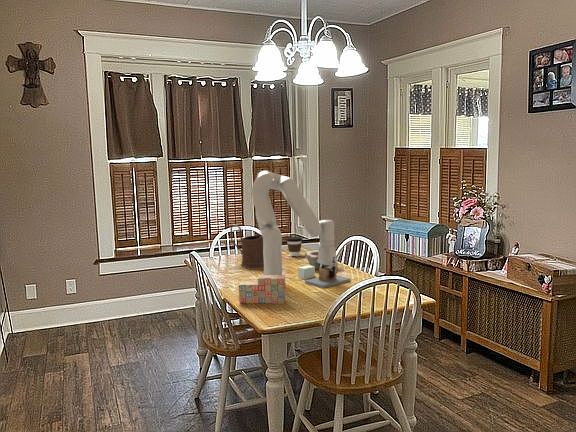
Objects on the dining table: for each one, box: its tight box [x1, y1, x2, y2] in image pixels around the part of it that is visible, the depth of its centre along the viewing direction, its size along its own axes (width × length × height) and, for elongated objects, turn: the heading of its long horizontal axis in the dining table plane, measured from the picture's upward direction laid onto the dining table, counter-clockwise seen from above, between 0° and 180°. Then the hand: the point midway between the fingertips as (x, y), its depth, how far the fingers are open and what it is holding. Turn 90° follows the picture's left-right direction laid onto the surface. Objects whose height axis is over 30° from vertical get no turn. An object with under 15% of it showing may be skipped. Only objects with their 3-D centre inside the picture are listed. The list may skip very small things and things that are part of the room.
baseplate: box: [304, 274, 352, 289], centre depth 279 cm, size 20×14×2 cm
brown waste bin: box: [230, 224, 264, 269], centre depth 323 cm, size 18×24×25 cm
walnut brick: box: [318, 267, 337, 282], centre depth 278 cm, size 8×5×6 cm, turn 129°
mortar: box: [304, 250, 338, 270], centre depth 312 cm, size 17×17×9 cm
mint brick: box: [297, 264, 316, 280], centre depth 290 cm, size 8×5×6 cm, turn 129°
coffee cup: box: [285, 236, 303, 257], centre depth 349 cm, size 11×11×12 cm
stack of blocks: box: [238, 274, 286, 305], centre depth 245 cm, size 21×6×12 cm, turn 87°
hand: (327, 276), depth 278 cm, fingers open, 6 cm apart
